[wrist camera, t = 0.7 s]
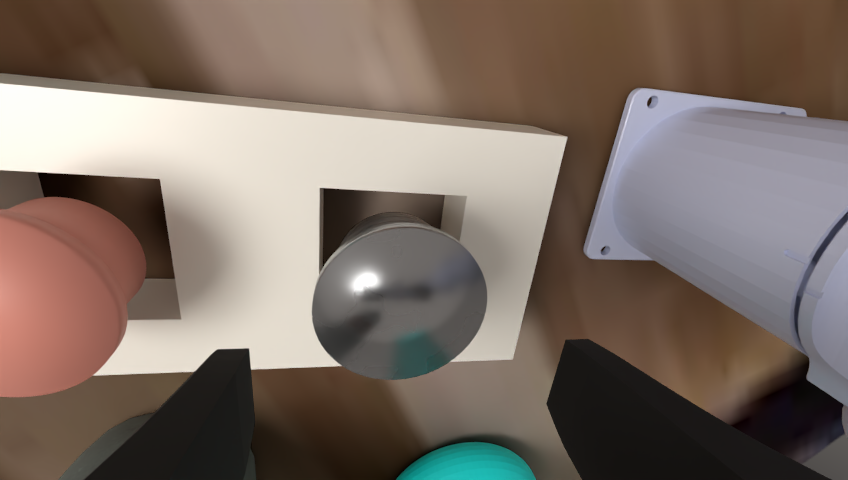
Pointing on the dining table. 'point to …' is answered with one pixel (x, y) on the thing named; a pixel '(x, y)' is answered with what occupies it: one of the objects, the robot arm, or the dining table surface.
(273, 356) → the socket block
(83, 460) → the bottle
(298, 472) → the dining table surface
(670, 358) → the dining table surface
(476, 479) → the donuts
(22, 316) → the red plug
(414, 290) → the grey plug
